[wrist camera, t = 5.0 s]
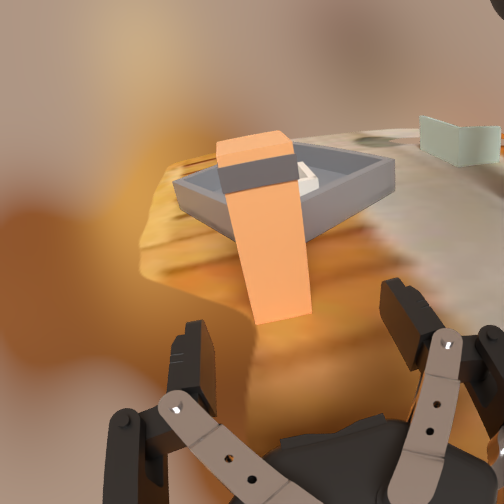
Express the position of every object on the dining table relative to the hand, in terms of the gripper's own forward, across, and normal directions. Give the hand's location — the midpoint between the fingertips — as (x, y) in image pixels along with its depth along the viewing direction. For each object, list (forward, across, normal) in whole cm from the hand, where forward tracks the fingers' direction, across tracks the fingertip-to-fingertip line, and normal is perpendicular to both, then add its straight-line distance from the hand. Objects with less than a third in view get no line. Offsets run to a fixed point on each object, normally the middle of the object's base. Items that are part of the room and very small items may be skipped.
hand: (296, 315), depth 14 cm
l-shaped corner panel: (+38, -41, +8) cm, 57 cm away
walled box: (+31, -4, +8) cm, 32 cm away
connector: (+10, 0, +8) cm, 13 cm away
